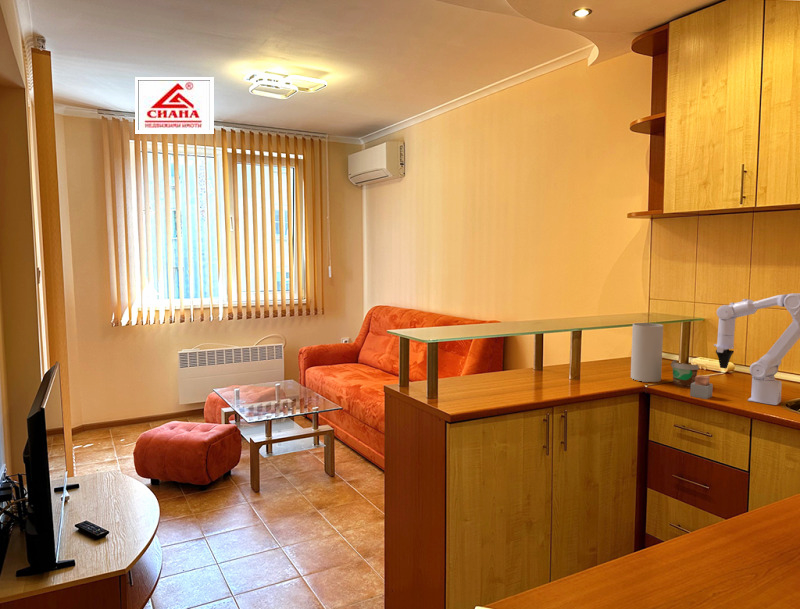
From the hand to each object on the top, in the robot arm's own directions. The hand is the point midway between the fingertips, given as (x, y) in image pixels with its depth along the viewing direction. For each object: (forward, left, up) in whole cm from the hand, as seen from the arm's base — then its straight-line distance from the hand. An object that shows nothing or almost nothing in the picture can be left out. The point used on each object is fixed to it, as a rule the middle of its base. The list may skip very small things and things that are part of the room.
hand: (723, 367), depth 225 cm
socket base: (+5, +12, -10) cm, 16 cm away
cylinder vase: (+32, -3, -11) cm, 33 cm away
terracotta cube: (+4, +12, -6) cm, 14 cm away
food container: (+17, -2, -11) cm, 20 cm away
